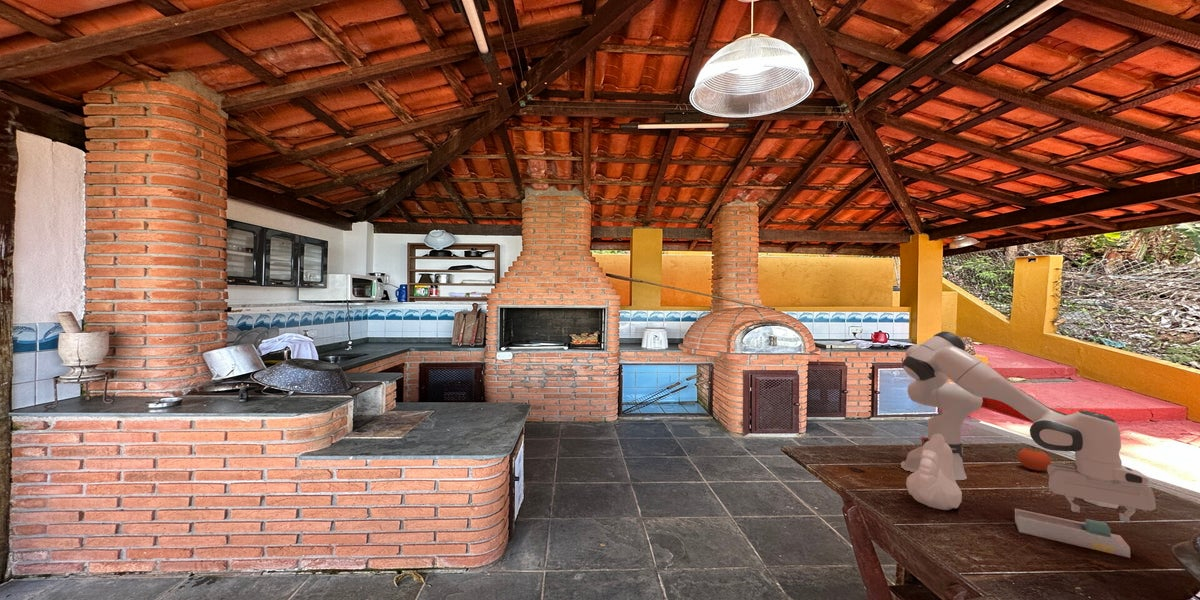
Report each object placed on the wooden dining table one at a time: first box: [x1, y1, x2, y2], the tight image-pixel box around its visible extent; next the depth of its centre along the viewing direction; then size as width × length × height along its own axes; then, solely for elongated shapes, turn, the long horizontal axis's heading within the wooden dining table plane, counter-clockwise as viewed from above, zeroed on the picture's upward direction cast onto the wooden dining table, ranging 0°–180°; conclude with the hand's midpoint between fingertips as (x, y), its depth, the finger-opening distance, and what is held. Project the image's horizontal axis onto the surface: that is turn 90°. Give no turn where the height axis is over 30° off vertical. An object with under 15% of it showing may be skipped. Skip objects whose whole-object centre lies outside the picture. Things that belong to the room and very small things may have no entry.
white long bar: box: [1014, 508, 1131, 559], centre depth 127 cm, size 22×8×6 cm, turn 52°
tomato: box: [1017, 446, 1052, 472], centre depth 185 cm, size 10×10×10 cm
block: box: [1085, 518, 1112, 536], centre depth 123 cm, size 4×4×6 cm
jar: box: [1083, 499, 1120, 510], centre depth 153 cm, size 9×8×12 cm
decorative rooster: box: [905, 434, 963, 511], centre depth 151 cm, size 25×16×25 cm, turn 119°
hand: (1099, 516), depth 123 cm, fingers open, 8 cm apart
